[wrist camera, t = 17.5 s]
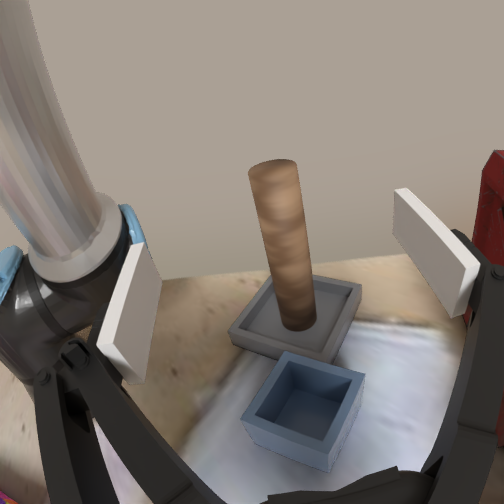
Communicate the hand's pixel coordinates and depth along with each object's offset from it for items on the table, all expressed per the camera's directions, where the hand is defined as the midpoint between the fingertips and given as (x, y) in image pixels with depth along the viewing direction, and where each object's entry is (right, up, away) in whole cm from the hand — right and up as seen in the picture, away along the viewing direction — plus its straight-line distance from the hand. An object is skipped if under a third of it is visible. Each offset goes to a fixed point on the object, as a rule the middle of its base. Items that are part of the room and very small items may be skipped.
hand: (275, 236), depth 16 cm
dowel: (+5, -10, +28) cm, 30 cm away
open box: (+5, -20, +16) cm, 26 cm away
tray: (+6, -11, +29) cm, 31 cm away
